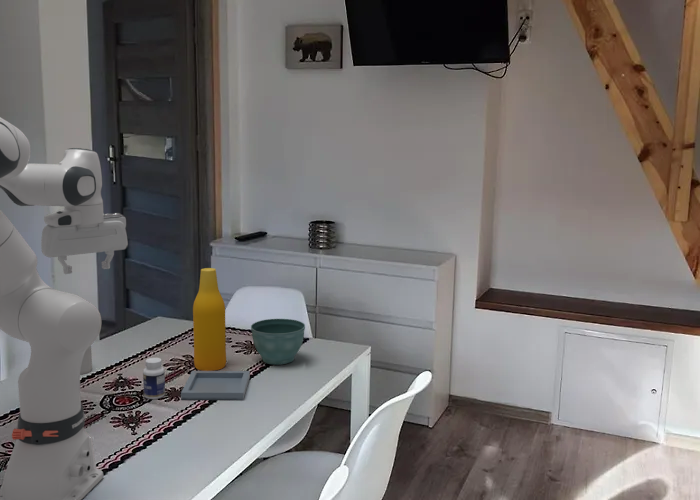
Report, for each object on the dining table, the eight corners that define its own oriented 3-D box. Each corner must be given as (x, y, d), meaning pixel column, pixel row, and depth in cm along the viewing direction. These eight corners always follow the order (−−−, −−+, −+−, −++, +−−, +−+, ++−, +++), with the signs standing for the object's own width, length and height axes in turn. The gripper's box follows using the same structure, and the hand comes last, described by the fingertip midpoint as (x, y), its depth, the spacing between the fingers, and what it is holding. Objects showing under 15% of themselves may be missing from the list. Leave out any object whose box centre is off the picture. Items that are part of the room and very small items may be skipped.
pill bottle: (139, 396, 185) (138, 361, 183) (154, 390, 190) (153, 355, 188) (154, 401, 183) (153, 364, 181) (169, 394, 187) (168, 358, 185)
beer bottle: (231, 362, 212) (229, 267, 207) (218, 373, 203) (216, 273, 198) (202, 359, 214) (200, 265, 209) (188, 369, 205) (186, 271, 200)
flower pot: (241, 357, 216) (240, 323, 214) (286, 348, 226) (286, 315, 224) (268, 373, 204) (268, 336, 202) (315, 362, 213) (315, 327, 211)
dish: (243, 400, 184) (243, 392, 184) (181, 400, 184) (181, 392, 183) (249, 377, 200) (249, 371, 200) (192, 377, 199) (192, 370, 199)
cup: (82, 376, 199) (81, 346, 197) (51, 373, 201) (49, 342, 199) (97, 368, 205) (95, 338, 204) (66, 364, 208) (65, 335, 206)
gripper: (120, 210, 182) (122, 263, 185) (37, 217, 169) (40, 274, 171) (130, 213, 177) (132, 268, 180) (46, 220, 164) (49, 278, 167)
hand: (87, 271), depth 175 cm, fingers open, 8 cm apart
